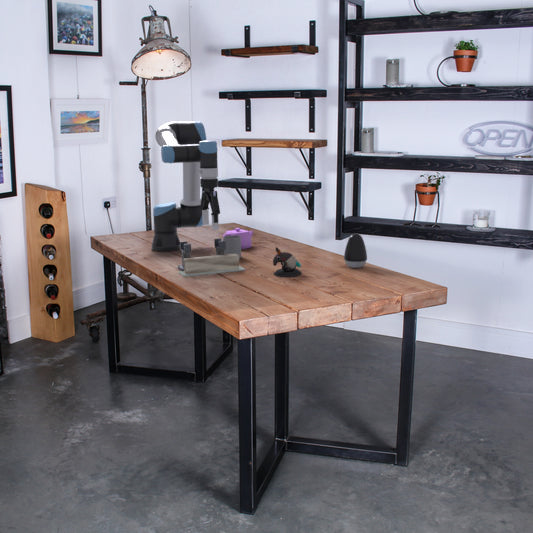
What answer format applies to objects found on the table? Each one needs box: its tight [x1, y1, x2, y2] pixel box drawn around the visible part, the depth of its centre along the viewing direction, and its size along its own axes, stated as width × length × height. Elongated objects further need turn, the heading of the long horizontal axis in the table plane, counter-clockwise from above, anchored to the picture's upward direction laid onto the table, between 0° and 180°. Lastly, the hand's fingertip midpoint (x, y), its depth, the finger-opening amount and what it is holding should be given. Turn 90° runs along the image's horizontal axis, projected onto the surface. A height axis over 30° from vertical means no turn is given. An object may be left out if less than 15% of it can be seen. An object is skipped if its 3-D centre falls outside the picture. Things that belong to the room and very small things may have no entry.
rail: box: [184, 254, 240, 274], centre depth 280 cm, size 4×24×6 cm, turn 113°
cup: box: [222, 235, 242, 259], centre depth 308 cm, size 8×8×10 cm
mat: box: [178, 265, 246, 278], centre depth 281 cm, size 8×28×1 cm, turn 113°
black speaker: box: [343, 233, 368, 269], centre depth 284 cm, size 10×10×15 cm
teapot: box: [222, 227, 254, 250], centre depth 331 cm, size 18×10×10 cm, turn 124°
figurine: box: [272, 246, 302, 278], centre depth 274 cm, size 11×12×12 cm
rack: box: [177, 238, 226, 271], centre depth 287 cm, size 8×22×12 cm, turn 113°
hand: (210, 227), depth 276 cm, fingers open, 13 cm apart
